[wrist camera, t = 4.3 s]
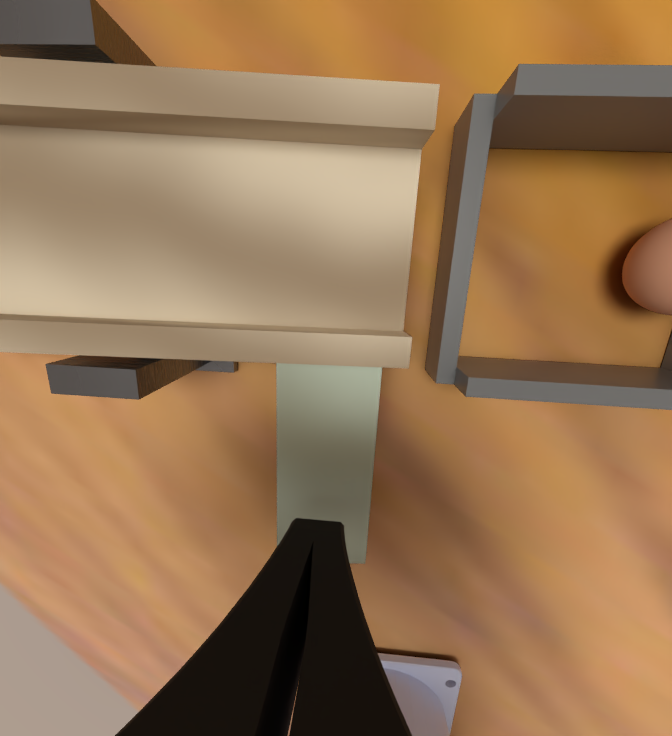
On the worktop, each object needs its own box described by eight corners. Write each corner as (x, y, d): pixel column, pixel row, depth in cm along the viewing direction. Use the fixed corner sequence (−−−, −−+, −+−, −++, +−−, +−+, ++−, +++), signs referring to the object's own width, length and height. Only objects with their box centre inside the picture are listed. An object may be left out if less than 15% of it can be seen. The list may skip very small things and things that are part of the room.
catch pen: (672, 384, 12) (823, 432, 8) (424, 369, 12) (455, 407, 9) (757, 131, 10) (1016, 33, 6) (454, 125, 10) (512, 30, 6)
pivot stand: (237, 369, 13) (170, 417, 8) (142, 363, 13) (26, 407, 9) (227, 103, 11) (125, -38, 6) (112, 101, 11) (-72, -36, 6)
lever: (375, 540, 12) (387, 607, 9) (-67, 529, 11) (-174, 595, 9) (414, 129, 8) (448, 68, 6) (-217, 92, 8) (-453, 10, 6)
